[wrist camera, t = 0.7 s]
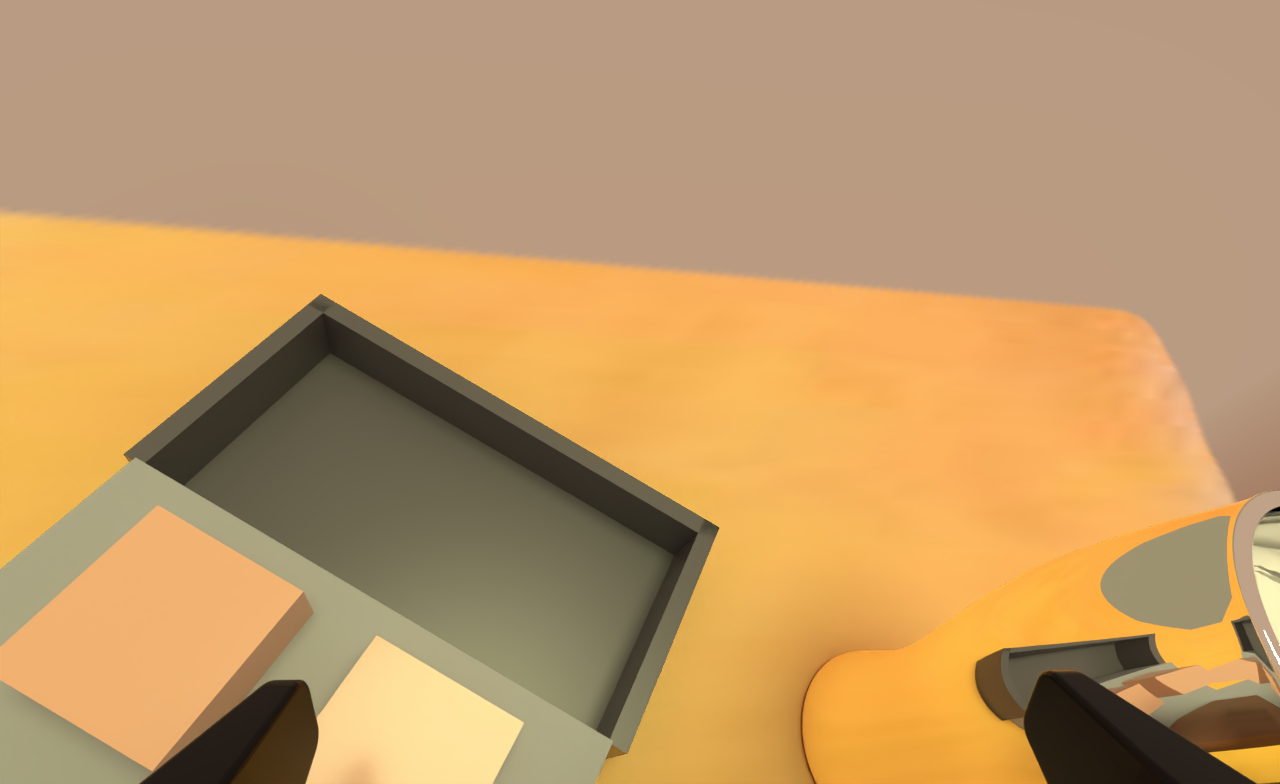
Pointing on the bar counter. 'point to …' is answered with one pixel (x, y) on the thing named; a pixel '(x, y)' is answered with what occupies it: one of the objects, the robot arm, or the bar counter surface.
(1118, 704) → the robot arm
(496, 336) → the bar counter surface
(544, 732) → the board
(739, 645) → the bar counter surface
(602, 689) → the tray
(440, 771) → the tile
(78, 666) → the tile
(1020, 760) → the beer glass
